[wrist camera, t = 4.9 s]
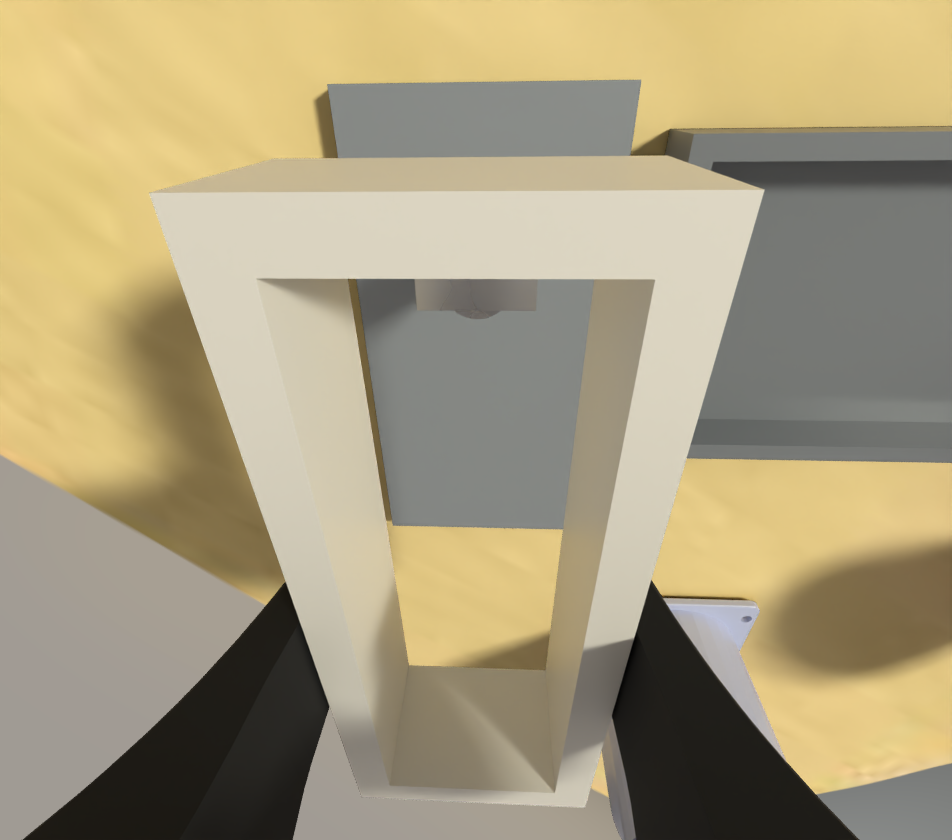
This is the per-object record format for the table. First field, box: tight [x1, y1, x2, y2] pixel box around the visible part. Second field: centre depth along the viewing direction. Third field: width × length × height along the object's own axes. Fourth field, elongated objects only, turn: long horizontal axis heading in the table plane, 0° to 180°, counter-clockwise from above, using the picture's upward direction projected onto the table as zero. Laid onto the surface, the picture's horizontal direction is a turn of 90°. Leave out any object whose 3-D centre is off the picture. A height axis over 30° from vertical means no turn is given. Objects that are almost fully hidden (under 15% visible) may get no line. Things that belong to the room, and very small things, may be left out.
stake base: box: [327, 80, 641, 529], centre depth 15 cm, size 16×8×6 cm, turn 1°
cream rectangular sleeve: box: [149, 156, 764, 808], centre depth 10 cm, size 16×6×3 cm, turn 1°
